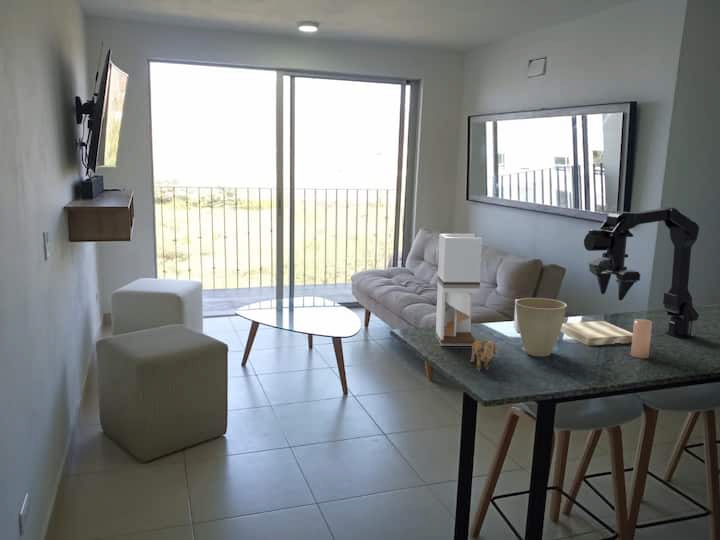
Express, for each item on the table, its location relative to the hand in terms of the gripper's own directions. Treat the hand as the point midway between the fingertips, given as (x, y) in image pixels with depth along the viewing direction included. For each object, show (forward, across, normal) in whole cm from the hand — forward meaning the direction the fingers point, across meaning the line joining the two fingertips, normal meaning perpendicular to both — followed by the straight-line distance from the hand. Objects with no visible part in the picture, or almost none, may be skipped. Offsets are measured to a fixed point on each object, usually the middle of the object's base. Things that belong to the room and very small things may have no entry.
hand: (611, 297), depth 192 cm
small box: (+15, -15, -22) cm, 30 cm away
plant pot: (+15, +9, -31) cm, 35 cm away
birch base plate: (+15, -4, -2) cm, 15 cm away
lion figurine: (+15, +16, -53) cm, 57 cm away
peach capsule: (+15, +17, -1) cm, 22 cm away
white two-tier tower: (+15, -6, -52) cm, 54 cm away
